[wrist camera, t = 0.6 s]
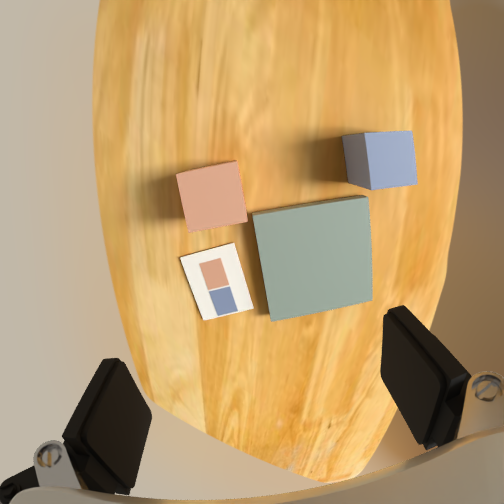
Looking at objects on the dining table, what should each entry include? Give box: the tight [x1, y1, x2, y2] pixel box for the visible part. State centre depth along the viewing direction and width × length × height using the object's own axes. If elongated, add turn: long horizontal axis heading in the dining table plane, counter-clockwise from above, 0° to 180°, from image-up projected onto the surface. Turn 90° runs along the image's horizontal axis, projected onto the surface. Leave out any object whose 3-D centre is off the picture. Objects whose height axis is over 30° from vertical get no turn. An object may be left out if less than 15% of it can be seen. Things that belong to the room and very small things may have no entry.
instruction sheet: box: [180, 243, 254, 320], centre depth 33 cm, size 8×6×1 cm
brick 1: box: [176, 160, 248, 233], centre depth 27 cm, size 5×5×6 cm
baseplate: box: [252, 195, 372, 322], centre depth 32 cm, size 12×12×2 cm
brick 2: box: [342, 131, 417, 190], centre depth 26 cm, size 5×5×6 cm
